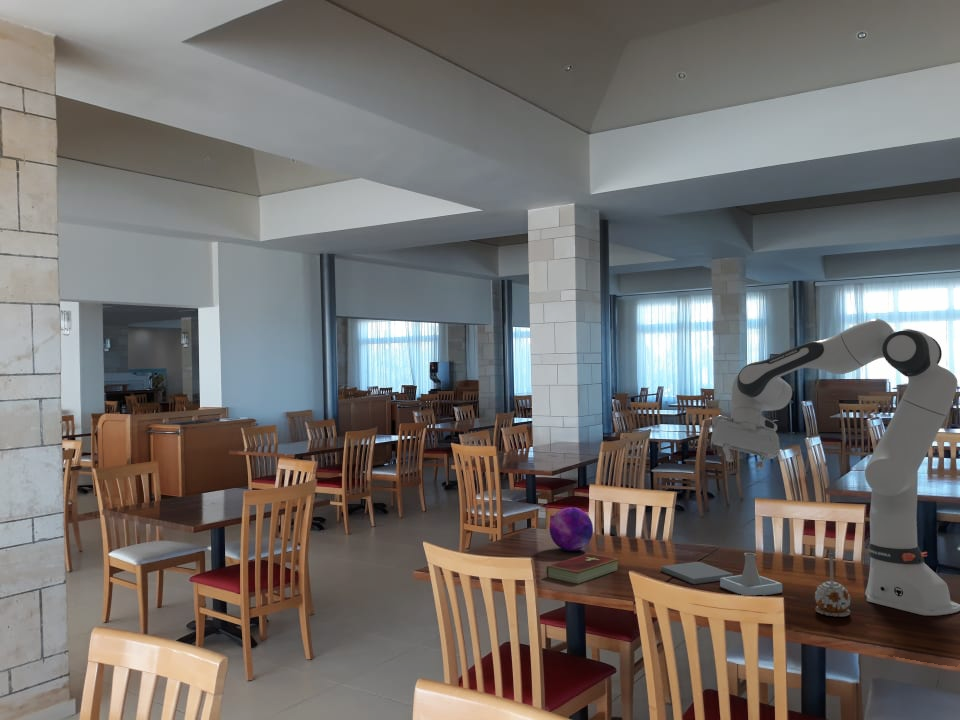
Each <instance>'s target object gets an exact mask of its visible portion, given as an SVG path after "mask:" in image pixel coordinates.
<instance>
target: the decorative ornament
mask: <svg viewBox="0 0 960 720" xmlns="http://www.w3.org/2000/svg"><path fill="white" fill-rule="evenodd" d="M834 580H835V579H834V553H829V581H825V582H821V584H819V585H818V586H817V587H816V590H815V592H814V601H815V604H816V606H815V608H814V609H815V612H817V613H819V614H821V615H825V616H828V617H829V616H831V617H834V618H835V617H839V618H840V617H848V616H849V615H851V610H850V609H849V606H850V605H851V595H850V594H849V591H848V590H847V589H846V587H844V584H841V583H839V582H836V581H834Z"/></svg>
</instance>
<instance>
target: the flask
mask: <svg viewBox="0 0 960 720" xmlns="http://www.w3.org/2000/svg"><path fill="white" fill-rule="evenodd" d="M743 555H744V560H745V561H744V567H743V571H742V574H741V575H742V576H741V579H740V582H739V584H741V585H744V586H747V587H754V586H761V585H763V584H762V582H761V579H760V577H759V576H760V574H759V572H758V568H757V565H756V564H757V563H756V557H757V553H754V552H753V553H752V552H744V553H743Z"/></svg>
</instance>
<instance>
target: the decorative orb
mask: <svg viewBox="0 0 960 720" xmlns="http://www.w3.org/2000/svg"><path fill="white" fill-rule="evenodd" d="M593 533H594V527H593V522H592V519H591V517H590V516H589V514H587V513H586V512H585V511H584V510H583V509H580V508H578V507H574V506H567V507H563V508H561V509H559V510H558V511H557V512H556V513H555V514H554V515H553V516H552V517H551V520H550V523H549V534H550V538H551V539H552V541H553V543H554V544H555V545H556V546H557V547H558V548H560V549H561V550H563V551H567V552H576V551H577V552H578V551H580V550H582V549H584V548H585V547H586V546H587V545H589V543H590V542H591V540H592V537H593Z"/></svg>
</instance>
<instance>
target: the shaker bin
mask: <svg viewBox="0 0 960 720" xmlns="http://www.w3.org/2000/svg"><path fill="white" fill-rule="evenodd" d="M741 576H742V574H739V575H738V574H737V575H733V576H730V577H723V578H720V581H719V585H720V588H723V589H725V590H728V591H730V592H733V593H735V594H737V595H740V594H741V596H743V595H763V596H767V595H775V594H780V593H783V583H782V582H780V581H779V582H778V581H776V580H774V579H770V578H769V577H765V576H762V575H759V577H760V579H761V582H762V584H763V585H761V586H754V587H747V586H744V585H741V584H739V582H740V579H741Z"/></svg>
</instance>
